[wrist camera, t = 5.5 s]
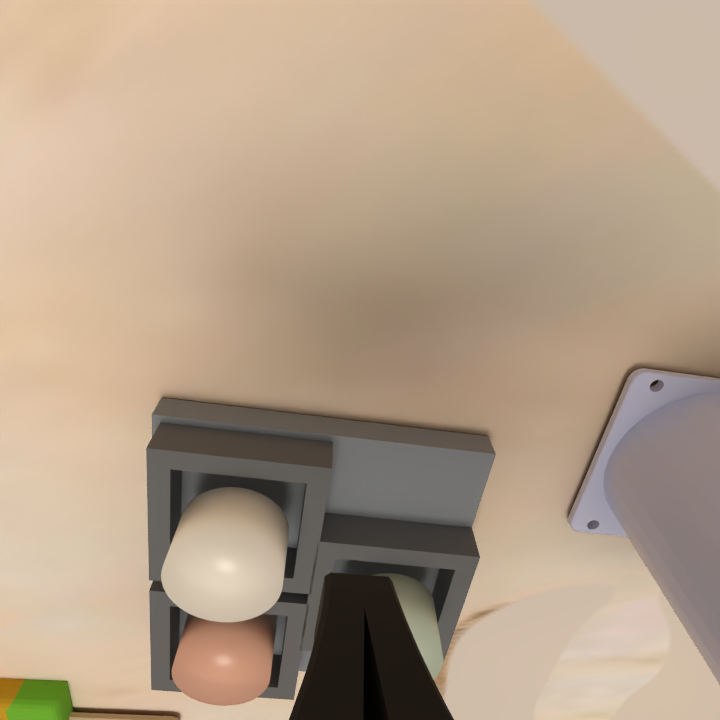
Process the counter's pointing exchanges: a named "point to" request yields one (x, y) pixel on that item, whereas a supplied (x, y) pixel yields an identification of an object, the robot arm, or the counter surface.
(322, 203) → the counter surface
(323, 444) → the grey compartment tray
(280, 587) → the cream button
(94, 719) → the striped ice pop
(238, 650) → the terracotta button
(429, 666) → the sage button
